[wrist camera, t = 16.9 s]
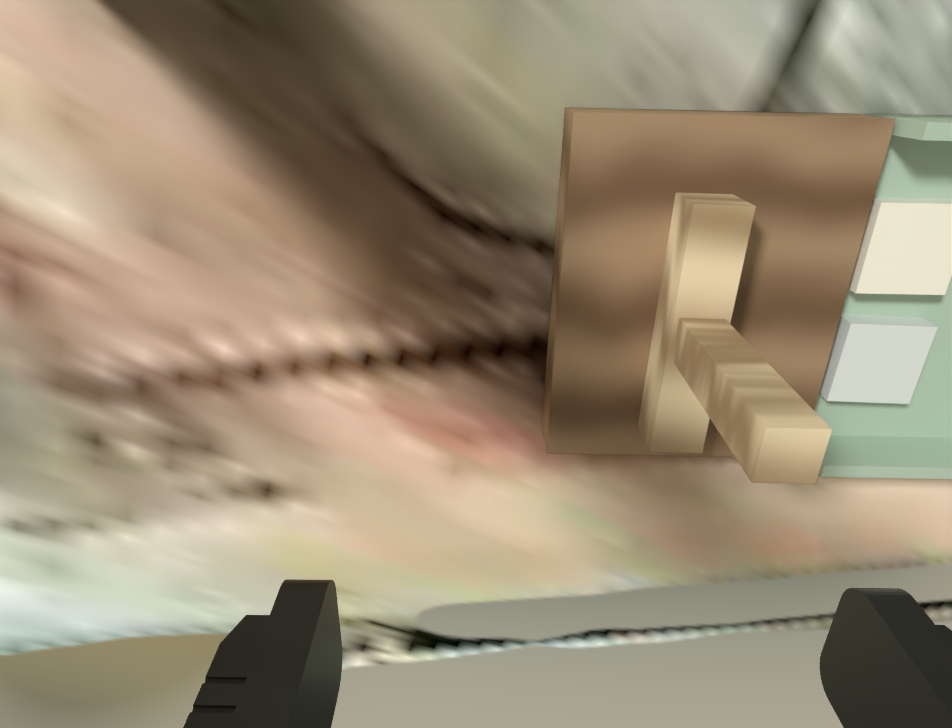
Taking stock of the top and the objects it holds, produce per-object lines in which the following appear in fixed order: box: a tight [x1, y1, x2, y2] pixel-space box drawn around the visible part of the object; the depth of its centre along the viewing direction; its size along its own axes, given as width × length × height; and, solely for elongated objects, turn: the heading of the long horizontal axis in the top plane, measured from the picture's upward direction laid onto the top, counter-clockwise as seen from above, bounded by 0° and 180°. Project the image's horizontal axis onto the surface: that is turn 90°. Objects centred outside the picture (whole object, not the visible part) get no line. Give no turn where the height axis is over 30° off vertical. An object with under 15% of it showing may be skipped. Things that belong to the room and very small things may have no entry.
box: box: [814, 114, 952, 479], centre depth 37 cm, size 20×12×6 cm, turn 179°
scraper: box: [638, 193, 832, 484], centre depth 30 cm, size 14×3×14 cm, turn 178°
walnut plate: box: [542, 108, 896, 457], centre depth 37 cm, size 20×16×4 cm
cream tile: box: [848, 197, 952, 295], centre depth 35 cm, size 5×5×2 cm
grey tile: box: [819, 314, 938, 404], centre depth 38 cm, size 5×5×2 cm
